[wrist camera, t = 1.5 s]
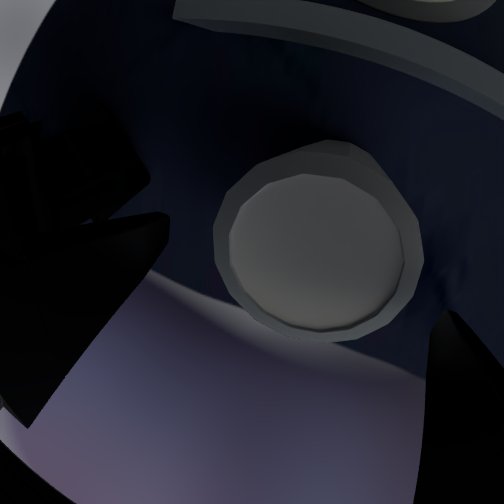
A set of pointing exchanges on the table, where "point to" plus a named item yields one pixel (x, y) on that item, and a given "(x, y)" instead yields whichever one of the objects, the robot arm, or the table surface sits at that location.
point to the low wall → (354, 41)
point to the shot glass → (318, 243)
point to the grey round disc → (430, 9)
